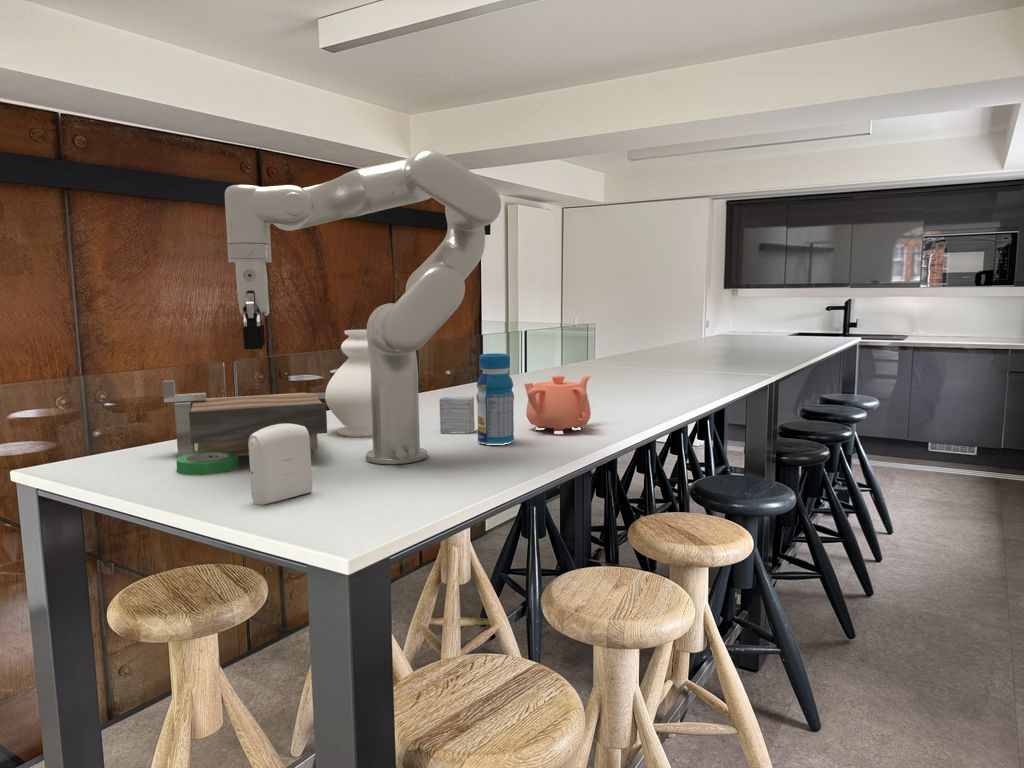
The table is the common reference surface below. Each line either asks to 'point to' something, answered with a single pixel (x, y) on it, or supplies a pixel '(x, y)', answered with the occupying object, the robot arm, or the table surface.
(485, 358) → the beverage bottle
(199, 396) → the brushed metal corner piece
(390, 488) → the table surface
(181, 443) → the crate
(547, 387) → the teapot
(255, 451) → the photo printer
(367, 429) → the decorative vase
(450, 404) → the medicine box
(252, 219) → the robot arm
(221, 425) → the lid
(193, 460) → the tape roll
